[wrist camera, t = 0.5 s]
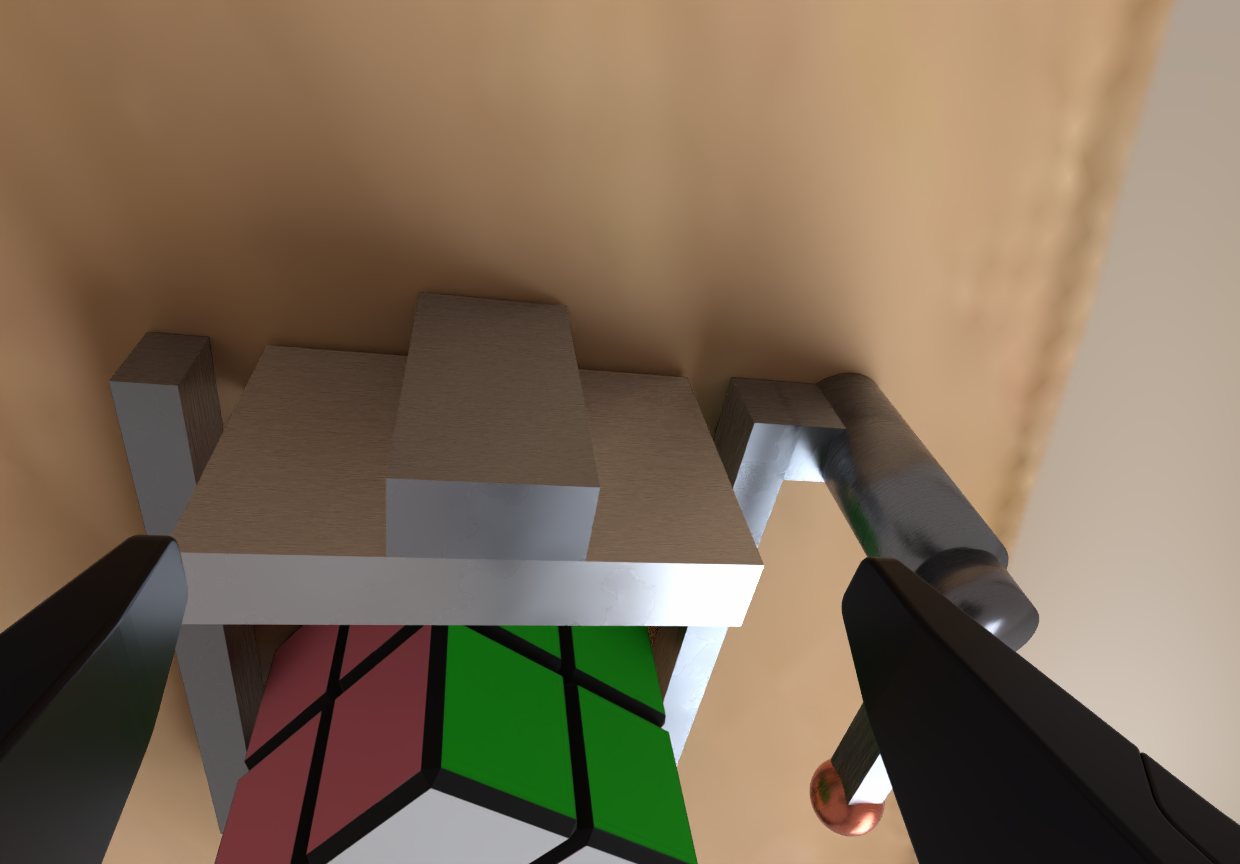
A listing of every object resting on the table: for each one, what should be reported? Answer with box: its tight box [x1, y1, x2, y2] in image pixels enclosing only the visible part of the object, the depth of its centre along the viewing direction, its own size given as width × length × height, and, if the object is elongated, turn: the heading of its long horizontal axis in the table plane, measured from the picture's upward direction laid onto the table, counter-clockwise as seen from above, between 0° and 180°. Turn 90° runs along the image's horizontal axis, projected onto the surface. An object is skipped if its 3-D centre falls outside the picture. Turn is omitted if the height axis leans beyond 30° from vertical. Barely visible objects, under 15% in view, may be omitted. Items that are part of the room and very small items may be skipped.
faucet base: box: [109, 332, 1008, 834], centre depth 25 cm, size 22×22×8 cm
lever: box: [810, 549, 1039, 837], centre depth 20 cm, size 11×2×2 cm, turn 170°
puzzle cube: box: [215, 625, 698, 864], centre depth 25 cm, size 10×10×10 cm
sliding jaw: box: [171, 292, 764, 626], centre depth 18 cm, size 4×12×8 cm, turn 80°
